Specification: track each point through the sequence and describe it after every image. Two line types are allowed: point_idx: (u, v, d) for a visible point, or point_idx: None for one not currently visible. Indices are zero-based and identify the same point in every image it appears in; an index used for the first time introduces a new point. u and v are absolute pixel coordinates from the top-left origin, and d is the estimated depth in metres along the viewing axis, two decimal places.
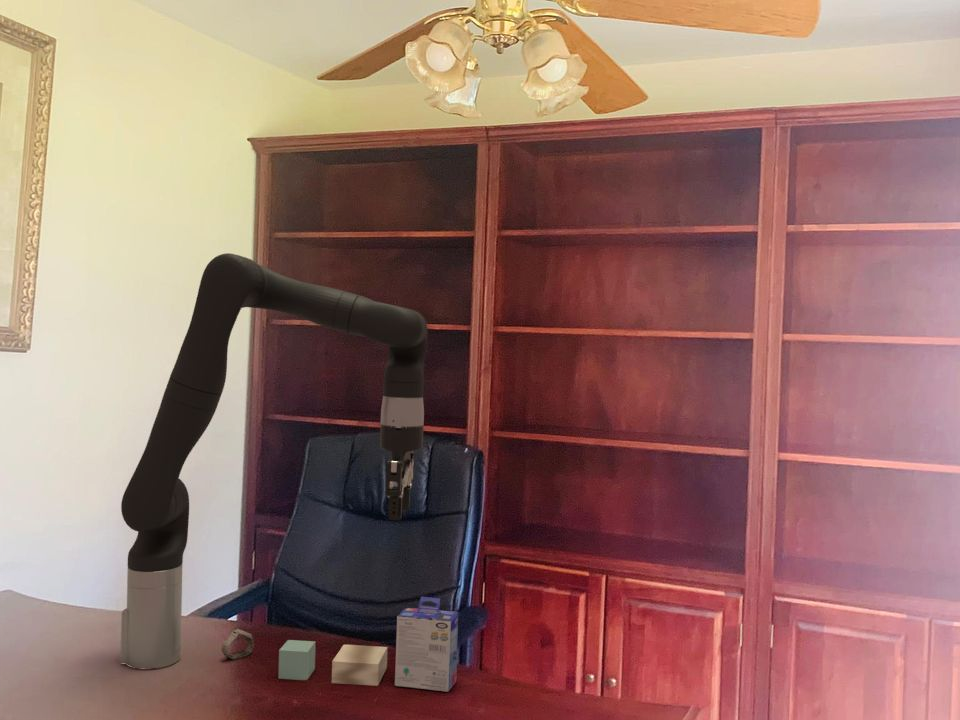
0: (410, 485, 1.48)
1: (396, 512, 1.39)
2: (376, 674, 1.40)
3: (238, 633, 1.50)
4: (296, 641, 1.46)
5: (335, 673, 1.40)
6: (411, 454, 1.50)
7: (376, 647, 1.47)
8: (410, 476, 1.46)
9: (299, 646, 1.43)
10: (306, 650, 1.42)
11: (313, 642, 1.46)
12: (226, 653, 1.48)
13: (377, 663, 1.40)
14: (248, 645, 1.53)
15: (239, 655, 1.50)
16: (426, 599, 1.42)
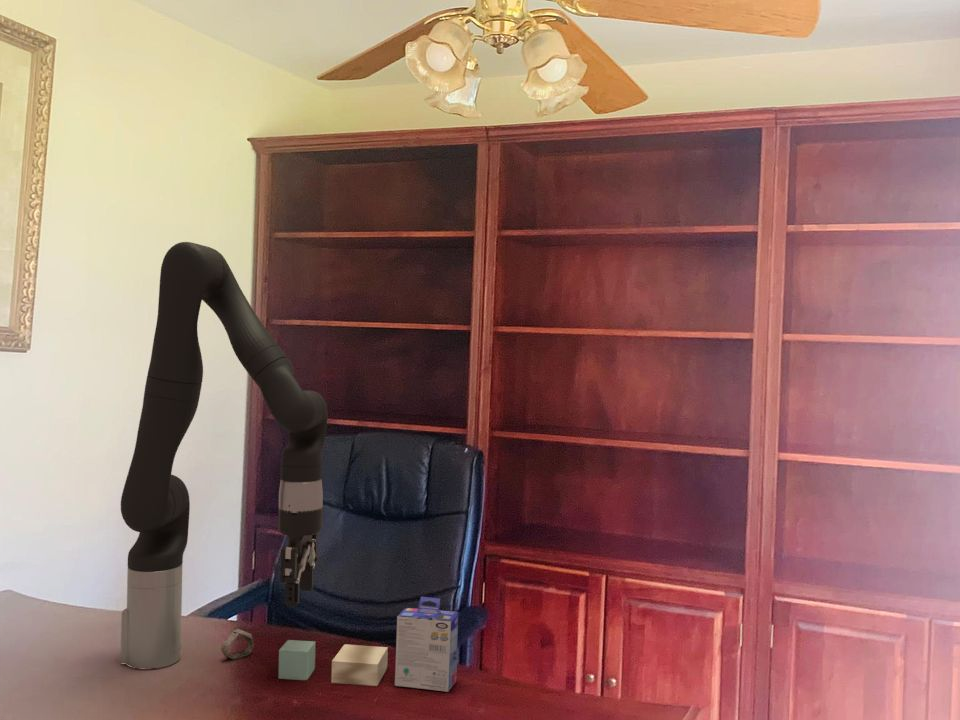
0: (313, 565, 1.48)
1: (292, 598, 1.38)
2: (375, 674, 1.40)
3: (238, 633, 1.50)
4: (296, 641, 1.46)
5: (334, 673, 1.40)
6: (314, 534, 1.49)
7: (376, 647, 1.47)
8: (311, 557, 1.46)
9: (299, 646, 1.43)
10: (306, 650, 1.42)
11: (313, 642, 1.46)
12: (226, 653, 1.48)
13: (376, 663, 1.40)
14: (248, 645, 1.53)
15: (239, 655, 1.50)
16: (426, 599, 1.42)
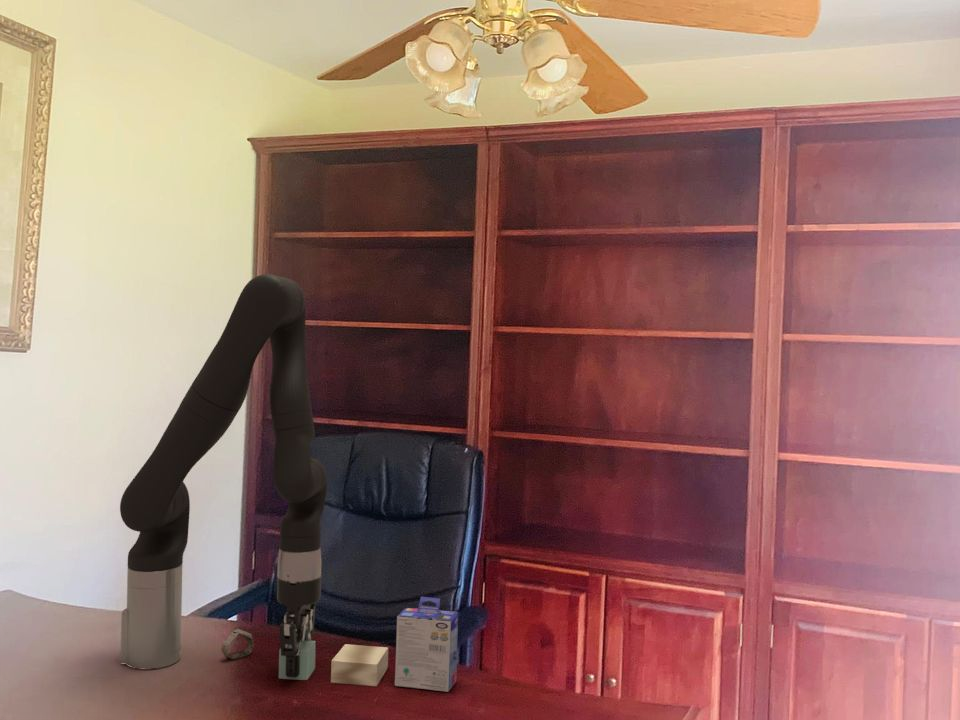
0: (309, 639, 1.47)
1: (293, 670, 1.40)
2: (375, 674, 1.40)
3: (238, 633, 1.50)
4: None
5: (334, 672, 1.41)
6: (312, 604, 1.49)
7: (377, 647, 1.47)
8: (308, 627, 1.45)
9: None
10: (306, 649, 1.42)
11: (313, 641, 1.46)
12: (226, 653, 1.48)
13: (376, 663, 1.40)
14: (248, 645, 1.53)
15: (239, 655, 1.50)
16: (426, 599, 1.42)
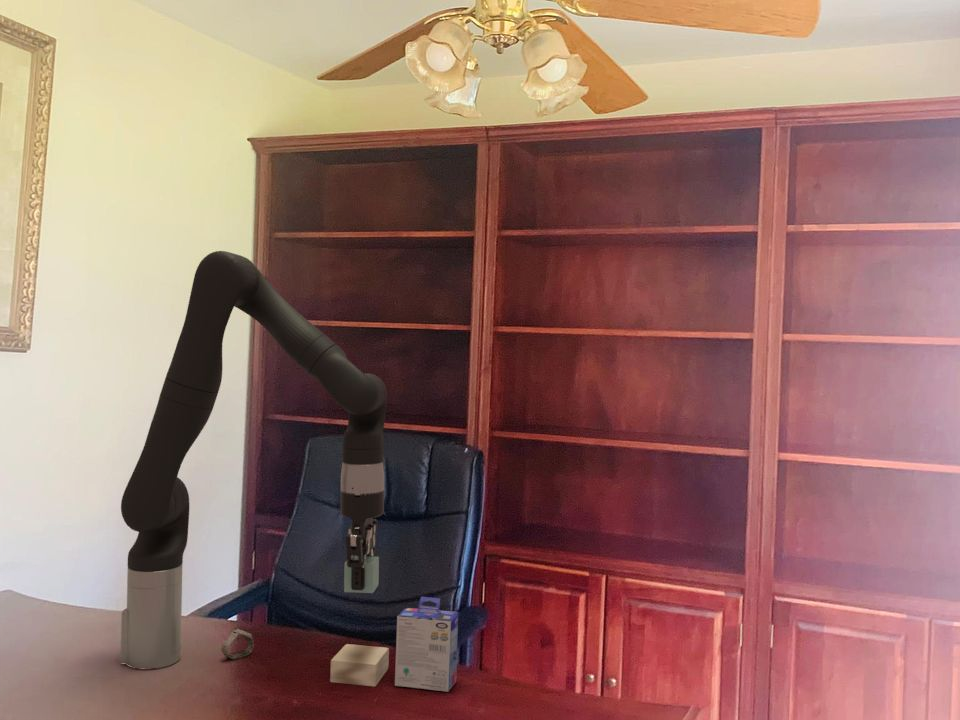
0: (371, 555, 1.46)
1: (359, 582, 1.40)
2: (373, 675, 1.40)
3: (238, 633, 1.50)
4: None
5: (333, 672, 1.41)
6: (374, 521, 1.49)
7: (377, 648, 1.47)
8: (371, 543, 1.45)
9: None
10: (371, 563, 1.42)
11: (376, 557, 1.45)
12: (226, 653, 1.48)
13: (375, 664, 1.40)
14: (248, 645, 1.53)
15: (239, 655, 1.50)
16: (426, 599, 1.42)
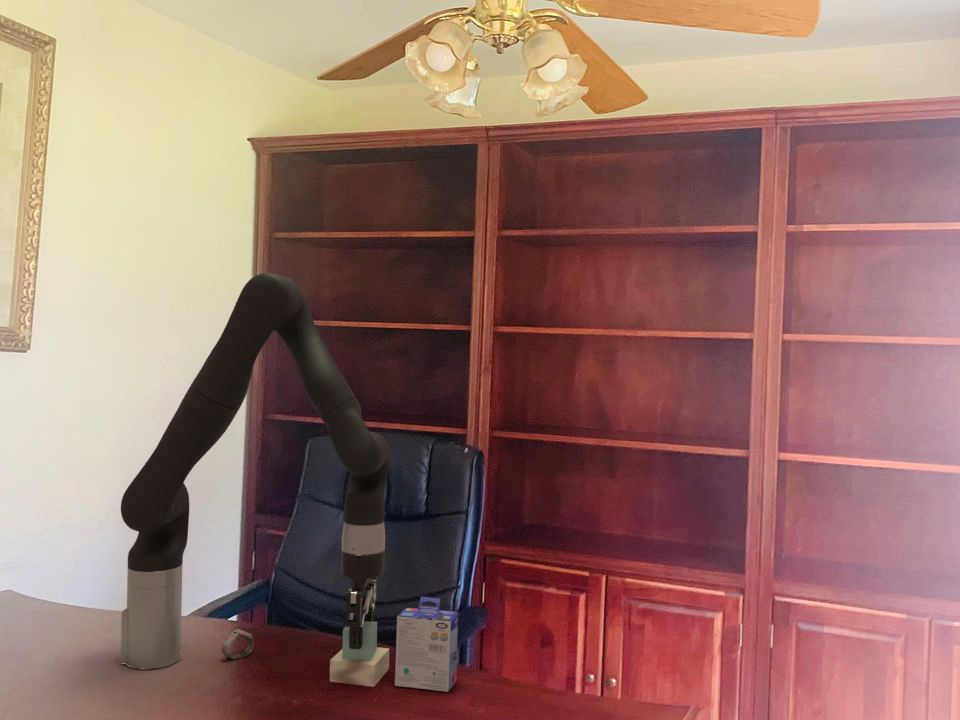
0: (373, 607, 1.48)
1: (357, 642, 1.39)
2: (372, 675, 1.39)
3: (238, 633, 1.50)
4: None
5: (333, 672, 1.41)
6: None
7: (378, 648, 1.47)
8: (372, 599, 1.46)
9: None
10: (370, 630, 1.42)
11: (375, 622, 1.46)
12: (226, 653, 1.48)
13: (373, 664, 1.40)
14: (248, 645, 1.53)
15: (239, 655, 1.50)
16: (426, 599, 1.42)
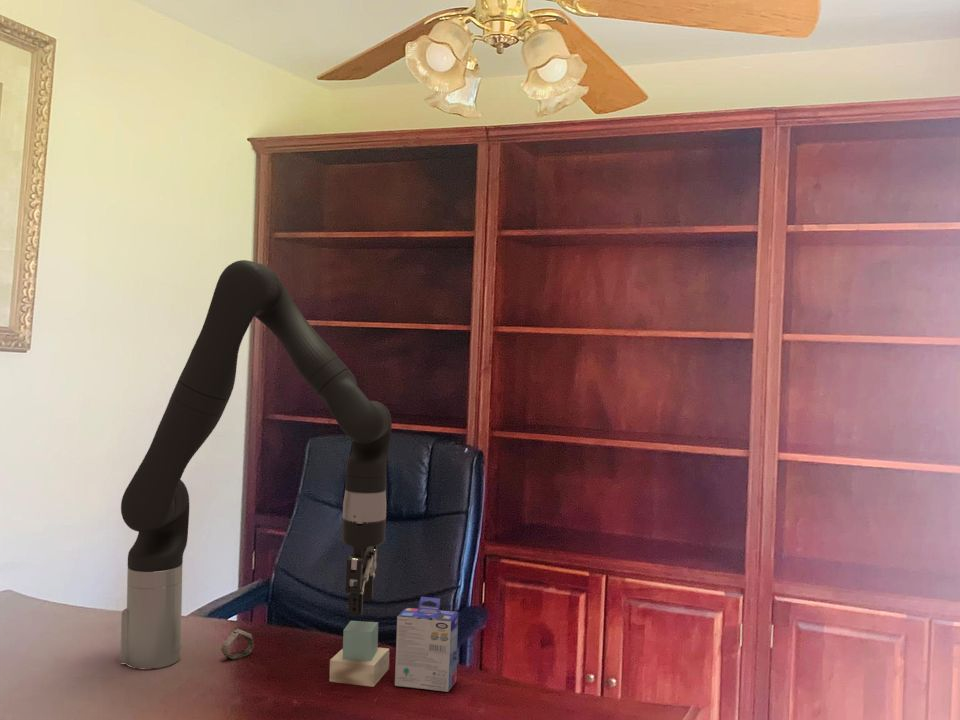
0: (373, 575, 1.48)
1: (356, 609, 1.39)
2: (372, 675, 1.39)
3: (238, 633, 1.50)
4: (359, 622, 1.46)
5: (332, 672, 1.41)
6: None
7: (378, 648, 1.47)
8: (373, 568, 1.46)
9: (363, 627, 1.43)
10: (370, 630, 1.42)
11: (376, 623, 1.46)
12: (226, 653, 1.48)
13: (373, 664, 1.40)
14: (248, 645, 1.53)
15: (239, 655, 1.50)
16: (426, 599, 1.42)
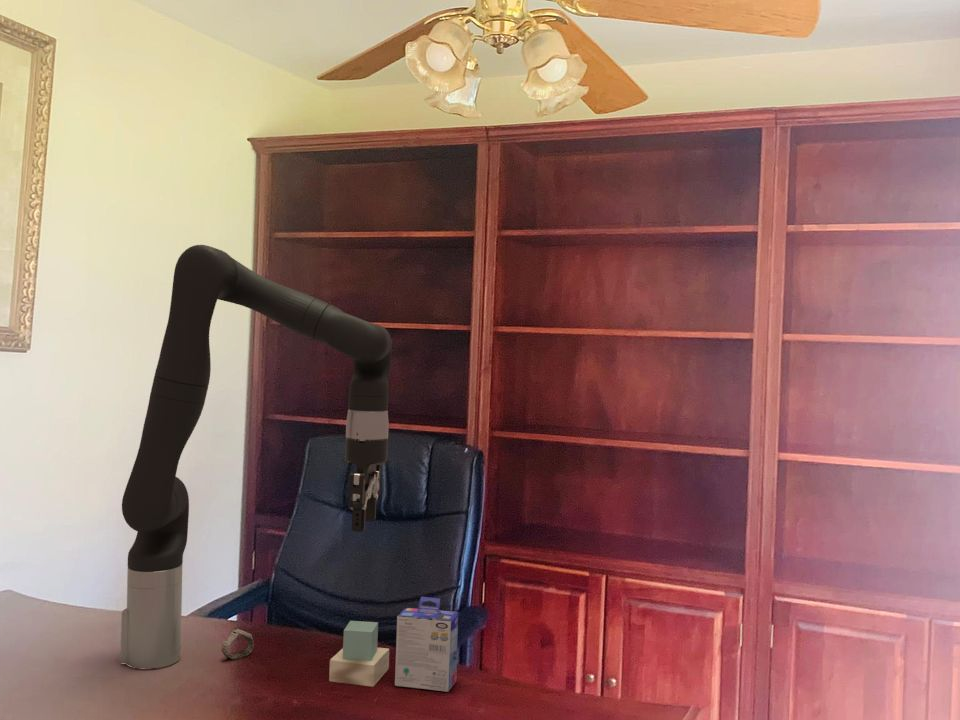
0: (376, 496, 1.51)
1: (359, 524, 1.41)
2: (371, 675, 1.39)
3: (238, 633, 1.50)
4: (359, 622, 1.46)
5: (332, 672, 1.41)
6: (378, 466, 1.52)
7: (378, 648, 1.47)
8: (376, 488, 1.49)
9: (363, 627, 1.43)
10: (370, 630, 1.42)
11: (376, 623, 1.46)
12: (226, 653, 1.48)
13: (373, 664, 1.40)
14: (248, 645, 1.53)
15: (239, 655, 1.50)
16: (426, 599, 1.42)
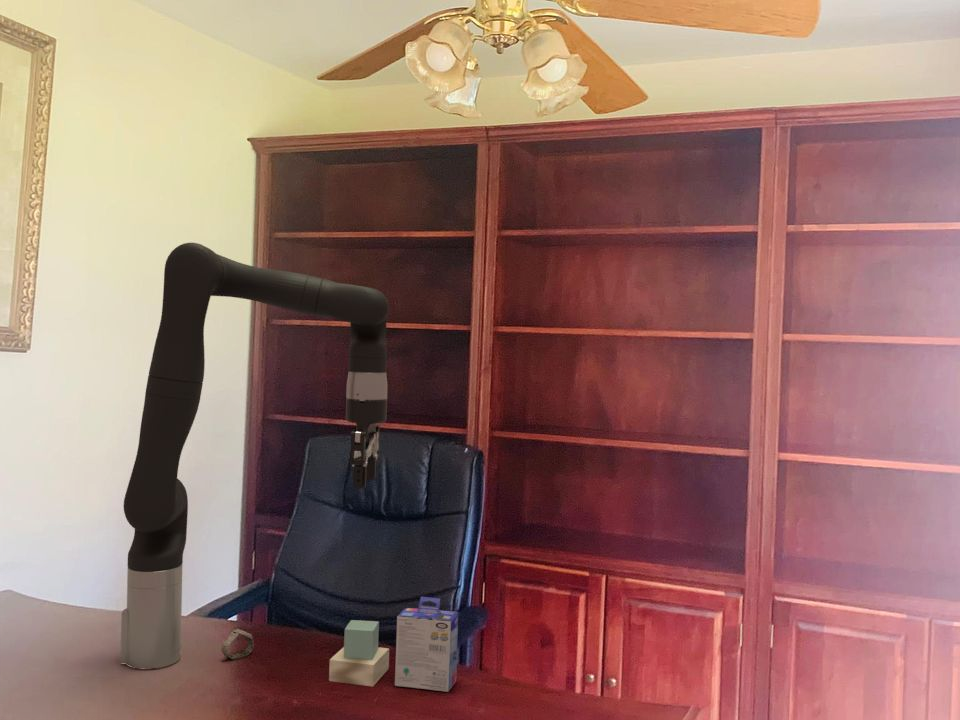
0: (376, 456, 1.57)
1: (360, 480, 1.47)
2: (371, 675, 1.39)
3: (238, 633, 1.50)
4: (360, 621, 1.46)
5: (332, 671, 1.41)
6: (377, 427, 1.58)
7: (378, 648, 1.47)
8: (375, 447, 1.55)
9: (364, 626, 1.44)
10: (371, 629, 1.42)
11: (377, 622, 1.46)
12: (226, 653, 1.48)
13: (372, 664, 1.40)
14: (248, 645, 1.53)
15: (239, 655, 1.50)
16: (426, 599, 1.42)
